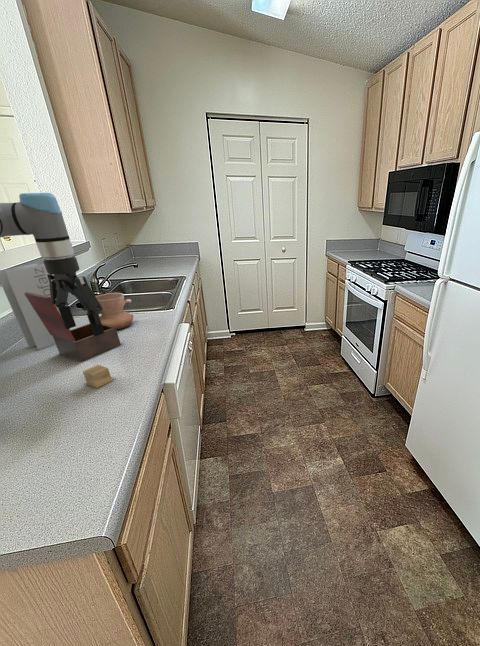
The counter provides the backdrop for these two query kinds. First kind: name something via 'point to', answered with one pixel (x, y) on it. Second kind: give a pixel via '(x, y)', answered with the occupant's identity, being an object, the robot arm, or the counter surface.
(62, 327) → the cover
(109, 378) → the block
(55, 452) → the counter surface
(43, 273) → the white lettered carton
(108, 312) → the ceramic jug
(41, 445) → the counter surface
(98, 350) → the book box
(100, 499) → the counter surface
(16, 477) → the counter surface
